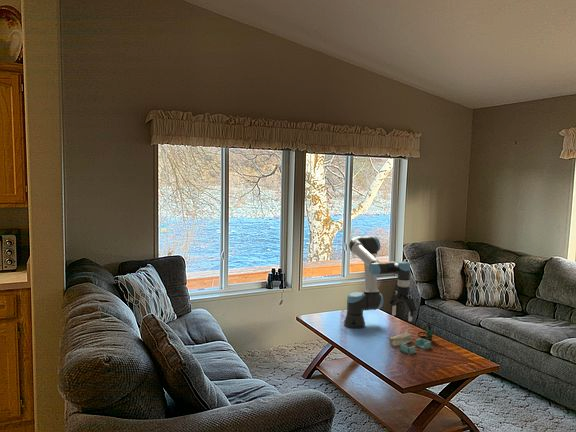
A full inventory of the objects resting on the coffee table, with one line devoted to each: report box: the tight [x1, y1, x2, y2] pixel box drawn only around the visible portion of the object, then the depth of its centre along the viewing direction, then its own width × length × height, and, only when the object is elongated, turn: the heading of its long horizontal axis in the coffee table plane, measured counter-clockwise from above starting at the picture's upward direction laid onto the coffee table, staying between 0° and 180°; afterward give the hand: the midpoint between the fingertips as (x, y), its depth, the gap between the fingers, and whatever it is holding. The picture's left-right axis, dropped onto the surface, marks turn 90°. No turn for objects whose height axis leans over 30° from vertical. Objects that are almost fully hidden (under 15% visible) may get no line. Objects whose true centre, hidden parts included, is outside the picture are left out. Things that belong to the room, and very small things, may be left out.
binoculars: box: [417, 323, 434, 343], centre depth 288 cm, size 9×11×10 cm
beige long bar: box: [389, 332, 412, 347], centre depth 282 cm, size 4×16×5 cm, turn 125°
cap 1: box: [399, 343, 416, 355], centre depth 268 cm, size 8×6×4 cm
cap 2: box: [415, 337, 432, 350], centre depth 277 cm, size 8×6×4 cm
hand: (401, 318), depth 281 cm, fingers open, 13 cm apart
